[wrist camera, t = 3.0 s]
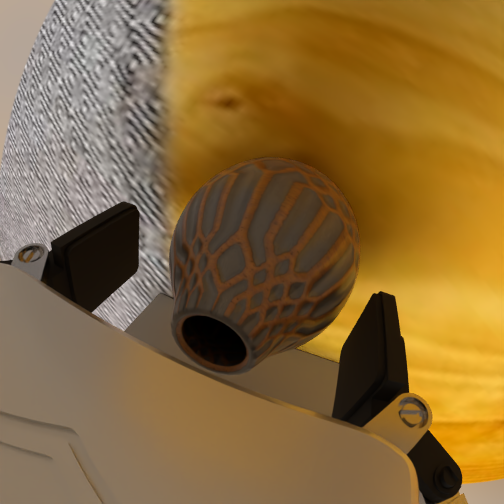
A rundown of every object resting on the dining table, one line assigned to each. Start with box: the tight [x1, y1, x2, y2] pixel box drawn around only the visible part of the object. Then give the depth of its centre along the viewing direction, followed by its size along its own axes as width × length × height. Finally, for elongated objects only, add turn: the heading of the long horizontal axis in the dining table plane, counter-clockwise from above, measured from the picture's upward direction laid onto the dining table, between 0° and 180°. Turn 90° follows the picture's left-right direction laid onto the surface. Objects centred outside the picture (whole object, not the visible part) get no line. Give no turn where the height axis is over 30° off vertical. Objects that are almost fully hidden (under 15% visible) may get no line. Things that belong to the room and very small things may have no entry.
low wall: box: [124, 293, 339, 417], centre depth 17 cm, size 1×14×5 cm, turn 78°
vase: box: [169, 157, 360, 375], centre depth 11 cm, size 7×7×9 cm
